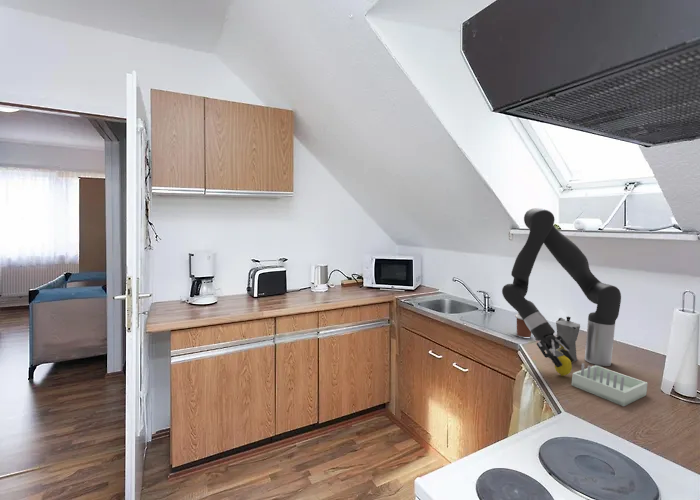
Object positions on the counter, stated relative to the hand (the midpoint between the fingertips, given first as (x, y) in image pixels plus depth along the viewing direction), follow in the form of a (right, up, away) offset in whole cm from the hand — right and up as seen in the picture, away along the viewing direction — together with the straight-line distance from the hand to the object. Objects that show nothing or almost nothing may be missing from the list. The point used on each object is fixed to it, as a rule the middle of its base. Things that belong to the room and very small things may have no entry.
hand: (566, 364), depth 133 cm
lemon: (-1, -5, +1) cm, 5 cm away
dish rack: (+9, -6, -9) cm, 14 cm away
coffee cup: (+7, -1, +47) cm, 48 cm away
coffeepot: (+12, -4, +21) cm, 25 cm away
